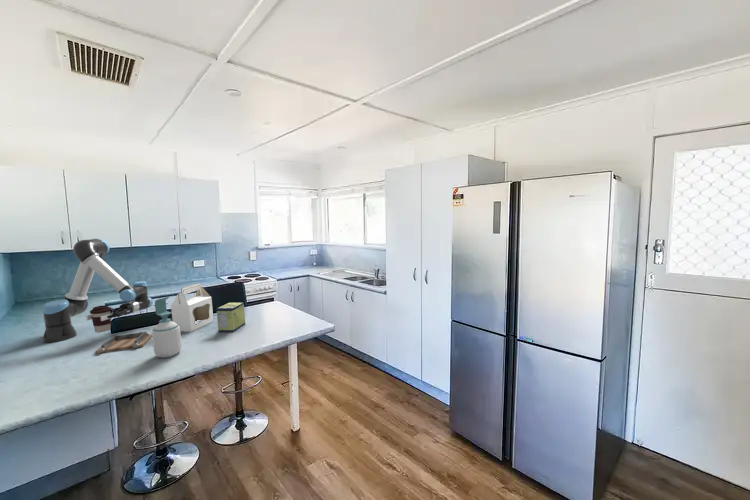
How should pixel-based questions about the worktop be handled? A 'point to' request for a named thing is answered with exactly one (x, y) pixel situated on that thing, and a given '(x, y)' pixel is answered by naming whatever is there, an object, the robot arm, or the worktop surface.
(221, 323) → the protein box
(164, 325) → the soap bottle
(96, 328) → the coffee cup
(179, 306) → the gable box
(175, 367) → the worktop surface
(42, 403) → the worktop surface
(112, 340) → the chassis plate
